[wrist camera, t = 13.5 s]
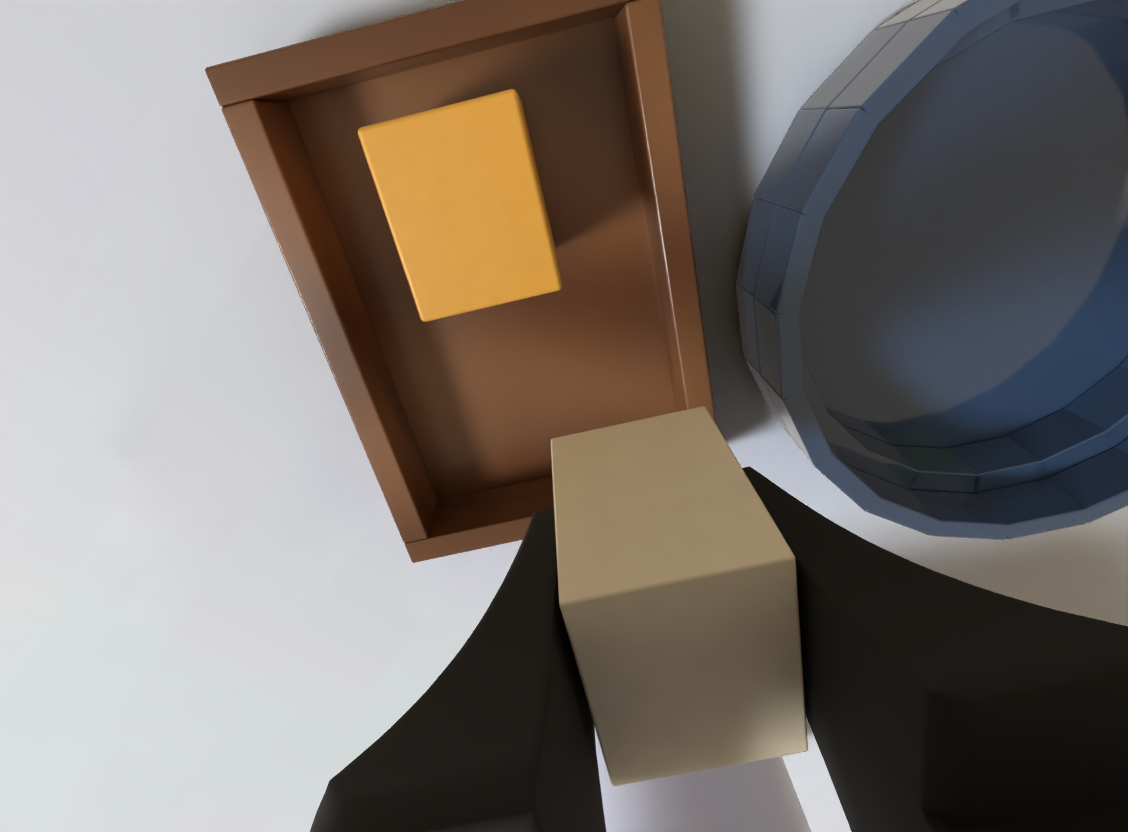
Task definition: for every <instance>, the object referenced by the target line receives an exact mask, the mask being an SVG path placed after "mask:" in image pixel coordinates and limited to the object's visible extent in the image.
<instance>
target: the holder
mask: <svg viewBox="0 0 1128 832" xmlns="http://www.w3.org/2000/svg"><path fill="white" fill-rule="evenodd" d="M205 71H206V74H207V76H208V78H209V81H210V83H211V86H212V88H213V90H214V93H215V95H216V97H217V100H218V102H219V105H220V106H221V107H223V108H222V112H223V114H224V116H225V119H226V121H227V124H228V126H229V128H230V131H231V133H232V135H233V138H234V140H235V143H236V145H237V147H238V150H239V152H240V155H241V157H242V159H243V162H244V164H245V166H246V169H247V171H248V174H249V176H250V178H251V181H252V183H253V185H254V188H255V190H256V193H257V195H258V197H259V200H260V202H261V204H262V207H263V209H264V212H265V214H266V216H267V219H268V221H269V223H270V226H271V228H272V231H273V233H274V235H275V238H276V240H277V242H278V245H279V247H280V250H281V252H282V254H283V257H284V259H285V261H286V264H287V266H288V269H289V271H290V273H291V276H292V278H293V280H294V283H295V285H296V288H297V290H298V292H299V295H300V297H301V299H302V302H303V304H304V307H305V309H306V311H307V314H308V316H309V318H310V321H311V323H312V326H313V328H314V330H315V333H316V335H317V337H318V340H319V342H320V345H321V347H322V349H323V352H324V354H325V356H326V359H327V361H328V364H329V366H330V368H331V371H332V373H333V375H334V378H335V380H336V383H337V385H338V387H339V390H340V392H341V394H342V397H343V399H344V402H345V404H346V406H347V409H348V411H349V413H350V416H351V418H352V421H353V423H354V425H355V428H356V430H357V432H358V435H359V437H360V440H361V442H362V444H363V447H364V449H365V451H366V454H367V456H368V459H369V461H370V463H371V466H372V468H373V470H374V473H375V475H376V478H377V480H378V482H379V485H380V487H381V489H382V492H383V494H384V497H385V499H386V501H387V504H388V506H389V508H390V511H391V513H392V516H393V518H394V520H395V523H396V525H397V527H398V530H399V532H400V535H401V537H402V539H403V542H404V543H405V546H406V549H407V551H408V554H409V556H410V558H411V561H412V562H413V563H415V562H419V561H424V560H429V559H434V558H438V557H443V556H448V555H452V554H457V553H462V552H467V551H471V550H476V549H481V548H485V547H490V546H495V545H499V544H504V543H509V542H514V541H518V540H523V539H524V536H525V534H526V531H527V529H528V526H529V524H530V521H531V518H532V516H533V515H534V513H535V512H536V511H539V510H543V509H548V508H553V507H554V494H553V475H552V456H551V439H553V438H557V437H562V436H566V435H571V434H576V433H580V432H585V431H590V430H595V429H599V428H604V427H609V426H613V425H618V424H623V423H627V422H632V421H637V420H641V419H646V418H651V417H655V416H660V415H665V414H669V413H674V412H679V411H683V410H688V409H693V408H697V407H702V406H704V407H706V409H707V411H708V412H709V414H710V416H711V417H712V419H713V421H714V422H715V424H716V419H715V411H714V404H713V396H712V388H711V381H710V373H709V365H708V358H707V350H706V343H705V335H704V327H703V320H702V312H701V305H700V297H699V289H698V282H697V274H696V267H695V259H694V251H693V244H692V236H691V228H690V221H689V213H688V206H687V198H686V190H685V183H684V175H683V168H682V160H681V152H680V145H679V137H678V129H677V122H676V114H675V107H674V99H673V91H672V84H671V76H670V69H669V61H668V53H667V46H666V38H665V30H664V23H663V15H662V8H661V0H460V1H456V2H452V3H448V4H445V5H441V6H437V7H433V8H429V9H426V10H422V11H418V12H414V13H411V14H407V15H403V16H399V17H395V18H392V19H388V20H384V21H380V22H377V23H373V24H369V25H365V26H361V27H358V28H354V29H350V30H346V31H343V32H339V33H335V34H331V35H327V36H324V37H320V38H316V39H312V40H309V41H305V42H301V43H297V44H293V45H290V46H286V47H282V48H278V49H274V50H271V51H267V52H263V53H259V54H256V55H252V56H248V57H244V58H240V59H237V60H233V61H229V62H225V63H222V64H218V65H214V66H210V67H207V68H206V69H205ZM509 89H515V90H516V92H517V93H518V95H519V96H520V98H521V100H522V103H523V108H524V112H525V117H526V121H527V125H528V130H529V134H530V138H531V143H532V147H533V152H534V156H535V160H536V165H537V169H538V174H539V178H540V182H541V187H542V191H543V195H544V200H545V204H546V209H547V213H548V217H549V222H550V226H551V231H552V235H553V239H554V244H555V249H556V254H557V260H558V266H559V272H560V278H561V284H562V287H561V289H560V290H559V291H555V292H550V293H546V294H542V295H538V296H533V297H529V298H525V299H521V300H516V301H512V302H508V303H504V304H499V305H495V306H491V307H487V308H482V309H478V310H474V311H470V312H465V313H461V314H457V315H453V316H448V317H444V318H440V319H436V320H431V321H427V322H425V321H422V320H421V318H420V315H419V312H418V309H417V306H416V303H415V300H414V298H413V295H412V292H411V289H410V286H409V283H408V280H407V277H406V274H405V271H404V268H403V265H402V262H401V259H400V256H399V253H398V250H397V247H396V245H395V242H394V239H393V236H392V233H391V230H390V227H389V224H388V221H387V218H386V215H385V212H384V209H383V206H382V203H381V200H380V197H379V194H378V191H377V189H376V186H375V183H374V180H373V177H372V174H371V171H370V168H369V165H368V162H367V159H366V156H365V153H364V150H363V147H362V144H361V141H360V138H359V135H358V129H359V128H361V127H364V126H368V125H372V124H376V123H380V122H384V121H388V120H391V119H395V118H399V117H403V116H407V115H411V114H415V113H419V112H423V111H427V110H431V109H435V108H438V107H442V106H446V105H450V104H454V103H458V102H462V101H466V100H470V99H474V98H478V97H482V96H485V95H489V94H493V93H497V92H501V91H505V90H509Z"/></svg>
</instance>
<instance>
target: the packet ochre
mask: <svg viewBox="0 0 1128 832" xmlns="http://www.w3.org/2000/svg"><path fill="white" fill-rule="evenodd" d="M358 135H359V138H360V141H361V144H362V147H363V150H364V153H365V156H366V159H367V162H368V165H369V168H370V171H371V174H372V177H373V180H374V183H375V186H376V189H377V191H378V194H379V197H380V200H381V203H382V206H383V209H384V212H385V215H386V218H387V221H388V224H389V227H390V230H391V233H392V236H393V239H394V242H395V245H396V247H397V250H398V253H399V256H400V259H401V262H402V265H403V268H404V271H405V274H406V277H407V280H408V283H409V286H410V289H411V292H412V295H413V298H414V300H415V303H416V306H417V309H418V312H419V315H420V318H421V320H422V321H425V322H427V321H431V320H436V319H440V318H444V317H448V316H453V315H457V314H461V313H465V312H470V311H474V310H478V309H482V308H487V307H491V306H495V305H499V304H504V303H508V302H512V301H516V300H521V299H525V298H529V297H533V296H538V295H542V294H546V293H550V292H555V291H559V290H560V289H561V287H562V284H561V278H560V272H559V266H558V260H557V254H556V249H555V244H554V239H553V235H552V231H551V226H550V222H549V217H548V213H547V209H546V204H545V200H544V195H543V191H542V187H541V182H540V178H539V174H538V169H537V165H536V160H535V156H534V152H533V147H532V143H531V138H530V134H529V130H528V125H527V121H526V117H525V112H524V108H523V103H522V100H521V98H520V96H519V95H518V93H517V92H516V90H515V89H509V90H505V91H501V92H497V93H493V94H489V95H485V96H482V97H478V98H474V99H470V100H466V101H462V102H458V103H454V104H450V105H446V106H442V107H438V108H435V109H431V110H427V111H423V112H419V113H415V114H411V115H407V116H403V117H399V118H395V119H391V120H388V121H384V122H380V123H376V124H372V125H368V126H364V127H361V128H359V129H358Z"/></svg>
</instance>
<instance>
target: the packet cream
mask: <svg viewBox="0 0 1128 832" xmlns="http://www.w3.org/2000/svg"><path fill="white" fill-rule="evenodd" d="M551 456H552V475H553V494H554V513H555V532H556V551H557V570H558V589H559V605H560V608H561V612H562V615H563V619H564V622H565V626H566V629H567V633H568V636H569V639H570V643H571V646H572V650H573V653H574V657H575V660H576V664H577V667H578V671H579V674H580V678H581V681H582V684H583V688H584V691H585V695H586V698H587V702H588V705H589V709H590V712H591V716H592V719H593V722H594V726H595V729H596V733H597V736H598V740H599V743H600V747H601V750H602V754H603V757H604V761H605V764H606V767H607V771H608V774H609V778H610V781H611V784H612V785H613V786H620V785H625V784H631V783H636V782H642V781H647V780H653V779H658V778H664V777H669V776H675V775H680V774H685V773H691V772H696V771H702V770H707V769H713V768H718V767H724V766H729V765H735V764H740V763H746V762H751V761H757V760H762V759H768V758H773V757H779V756H784V755H790V754H795V753H801V752H806V751H807V750H808V743H807V728H806V713H805V697H804V682H803V667H802V652H801V637H800V622H799V606H798V591H797V576H796V561H795V556H794V554H793V553H792V551H791V549H790V548H789V546H788V544H787V543H786V541H785V539H784V538H783V536H782V534H781V533H780V531H779V529H778V528H777V526H776V524H775V523H774V521H773V519H772V517H771V516H770V514H769V512H768V511H767V509H766V507H765V506H764V504H763V502H762V501H761V499H760V497H759V496H758V494H757V492H756V491H755V489H754V487H753V486H752V484H751V482H750V481H749V479H748V477H747V476H746V474H745V472H744V471H743V469H742V467H741V466H740V464H739V462H738V461H737V459H736V457H735V456H734V454H733V452H732V451H731V449H730V447H729V446H728V444H727V442H726V441H725V439H724V437H723V436H722V434H721V432H720V431H719V429H718V427H717V426H716V424H715V422H714V421H713V419H712V417H711V416H710V414H709V412H708V411H707V409H706V407H704V406H702V407H697V408H693V409H688V410H683V411H679V412H674V413H669V414H665V415H660V416H655V417H651V418H646V419H641V420H637V421H632V422H627V423H623V424H618V425H613V426H609V427H604V428H599V429H595V430H590V431H585V432H580V433H576V434H571V435H566V436H562V437H557V438H553V439H551Z"/></svg>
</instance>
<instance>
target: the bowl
mask: <svg viewBox="0 0 1128 832" xmlns="http://www.w3.org/2000/svg"><path fill="white" fill-rule="evenodd" d="M754 197H755V198H754V199H753V202H752V206H751V211H750V216H749V220H748V225H747V230H746V235H745V239H744V244H743V249H742V254H741V258H740V263H739V268H738V272H737V277H736V281H737V282H736V283H735V284H736V293H737V303H738V313H739V322H740V332H741V341H742V351H743V355H744V359H745V361H746V363H747V365H748V367H749V369H750V371H751V373H752V375H753V377H754V379H755V381H756V383H757V385H758V387H759V389H760V391H761V393H762V395H763V397H764V399H765V401H766V403H767V405H768V407H769V409H770V411H771V413H772V414H773V416H774V417H775V418H776V419H777V421H778V422H779V423H780V424H781V425H782V427H783V428H784V429H785V430H786V432H787V433H788V434H789V435H790V437H791V438H792V439H793V440H794V442H795V443H796V444H797V445H798V447H799V448H800V449H801V450H802V452H803V453H804V454H805V455H806V456H807V458H808V459H809V460H810V461H811V463H812V464H813V465H814V466H815V467H816V468H817V469H818V470H819V471H820V472H821V473H822V474H823V475H825V476H826V477H827V478H828V479H829V480H830V481H831V482H832V483H834V484H835V485H836V486H837V487H838V488H839V489H840V490H841V491H843V492H844V493H845V494H846V495H847V496H848V497H849V498H850V499H852V500H853V501H854V502H855V503H856V504H857V505H858V506H859V507H861V508H862V509H863V510H864V511H866V512H868V513H871V514H874V515H876V516H879V517H882V518H884V519H887V520H890V521H892V522H895V523H898V524H900V525H903V526H906V527H908V528H911V529H914V530H916V531H919V532H922V533H924V534H927V535H932V536H939V537H958V538H978V539H997V540H1005V539H1013V538H1018V537H1023V536H1028V535H1033V534H1038V533H1043V532H1048V531H1053V530H1058V529H1063V528H1068V527H1072V526H1077V525H1082V524H1085V523H1086V522H1087V523H1089V522H1092V521H1094V520H1096V519H1099V518H1101V517H1103V516H1105V515H1108V514H1110V513H1112V512H1115V511H1117V510H1119V509H1121V508H1124V507H1126V506H1128V0H920V1H918V2H917V3H915V4H914V5H912V6H910V7H909V8H907V9H906V10H904V11H902V12H901V13H899V14H898V15H896V16H894V17H893V18H891V19H890V20H888V21H886V22H885V23H883V24H882V25H880V26H878V27H877V28H876V29H875V30H874V31H872V32H870V33H869V34H868V35H867V36H866V37H865V38H864V40H863V41H862V42H861V43H860V44H859V45H858V46H857V47H856V48H855V49H854V50H853V52H852V53H851V54H850V55H849V56H848V57H847V58H846V59H845V60H844V61H843V62H842V63H841V65H840V66H839V67H838V68H837V69H836V70H835V71H834V72H833V73H832V74H831V75H830V76H829V78H828V79H827V80H826V81H825V82H824V83H823V84H822V85H821V86H820V87H819V88H818V90H817V91H816V92H815V93H814V94H813V95H812V96H811V97H810V98H809V99H808V100H807V101H806V103H805V104H804V105H803V106H802V107H801V109H800V110H799V111H798V113H797V115H796V116H795V118H794V120H793V122H792V124H791V126H790V128H789V130H788V132H787V134H786V135H785V137H784V139H783V141H782V143H781V145H780V147H779V149H778V151H777V153H776V154H775V156H774V158H773V160H772V162H771V164H770V166H769V168H768V170H767V172H766V173H765V175H764V177H763V179H762V181H761V183H760V185H759V187H758V189H757V191H756V192H755V194H754Z"/></svg>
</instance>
